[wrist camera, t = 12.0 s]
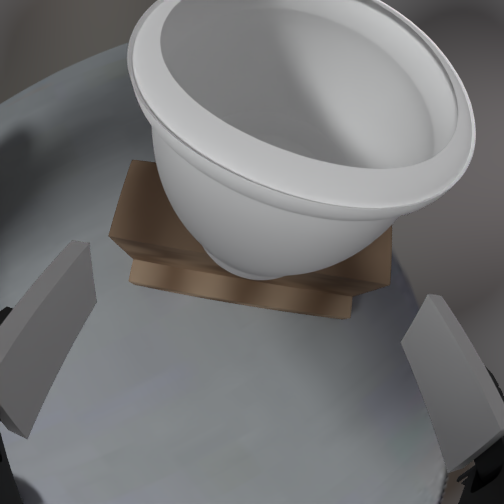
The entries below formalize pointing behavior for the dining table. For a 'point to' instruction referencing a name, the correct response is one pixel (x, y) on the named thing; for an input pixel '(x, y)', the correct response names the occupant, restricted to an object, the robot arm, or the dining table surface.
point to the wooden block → (218, 279)
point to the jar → (296, 125)
